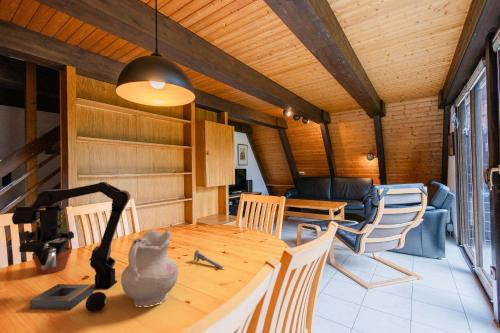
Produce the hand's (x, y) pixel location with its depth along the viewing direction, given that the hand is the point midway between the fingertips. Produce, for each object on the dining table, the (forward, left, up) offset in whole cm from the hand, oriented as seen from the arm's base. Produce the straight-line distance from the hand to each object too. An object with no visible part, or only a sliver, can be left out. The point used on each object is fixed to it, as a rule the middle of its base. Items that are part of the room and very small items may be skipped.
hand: (48, 263), depth 95 cm
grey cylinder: (0, 0, -2) cm, 2 cm away
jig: (-10, +5, -11) cm, 16 cm away
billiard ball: (-26, +11, -12) cm, 31 cm away
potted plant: (+16, -21, -12) cm, 28 cm away
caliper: (-56, -31, -12) cm, 65 cm away
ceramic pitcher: (-41, +4, -12) cm, 43 cm away
